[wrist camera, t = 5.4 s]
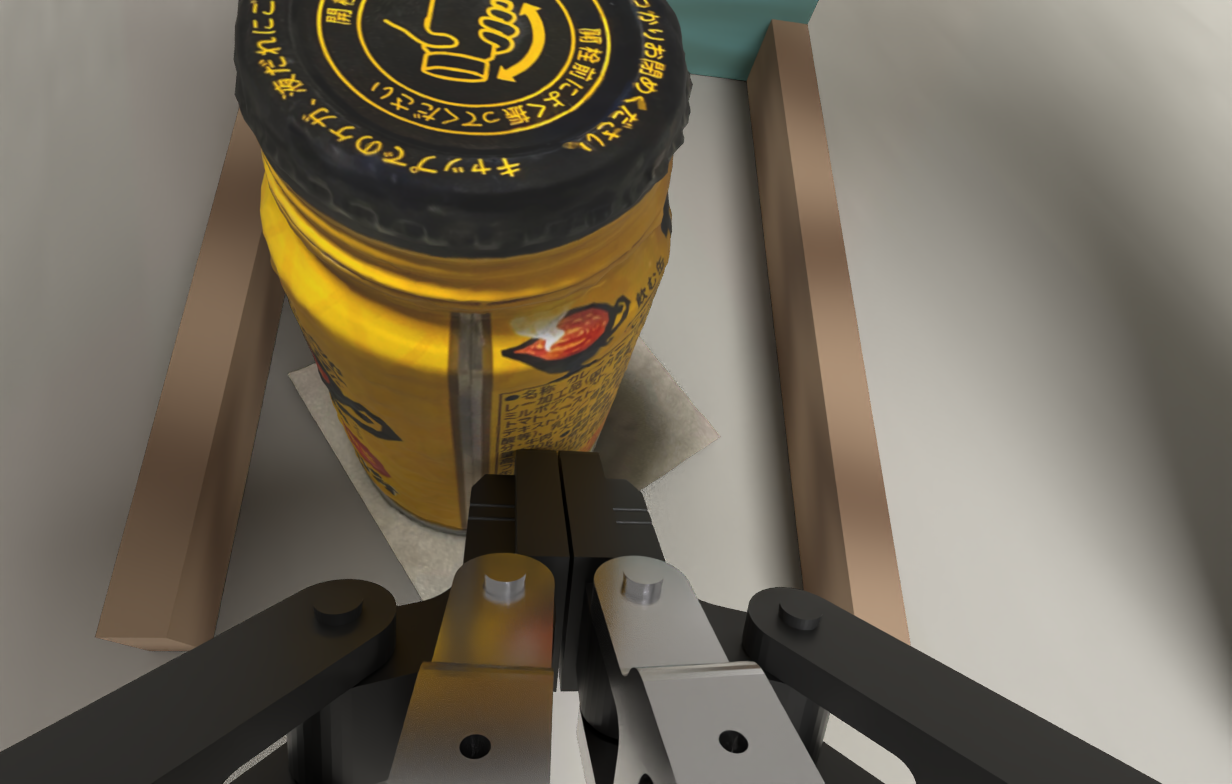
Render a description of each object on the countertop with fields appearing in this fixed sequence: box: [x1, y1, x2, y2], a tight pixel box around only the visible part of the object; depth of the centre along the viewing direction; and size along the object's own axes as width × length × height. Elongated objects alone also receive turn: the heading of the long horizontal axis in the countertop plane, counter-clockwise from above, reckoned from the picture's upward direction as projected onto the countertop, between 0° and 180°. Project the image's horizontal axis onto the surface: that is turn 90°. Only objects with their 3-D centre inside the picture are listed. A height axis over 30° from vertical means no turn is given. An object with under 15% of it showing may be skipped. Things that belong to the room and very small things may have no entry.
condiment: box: [234, 0, 721, 601], centre depth 14 cm, size 7×8×12 cm
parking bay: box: [95, 0, 911, 651], centre depth 19 cm, size 20×16×4 cm
